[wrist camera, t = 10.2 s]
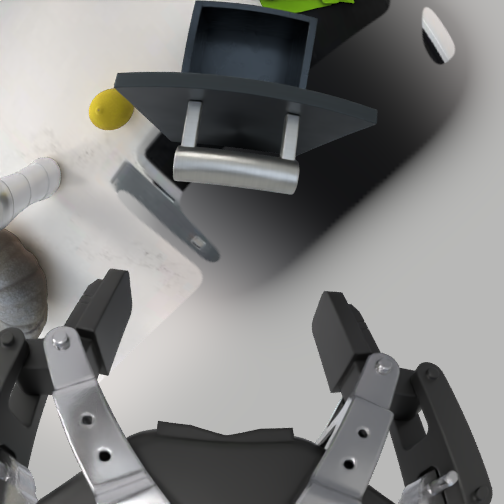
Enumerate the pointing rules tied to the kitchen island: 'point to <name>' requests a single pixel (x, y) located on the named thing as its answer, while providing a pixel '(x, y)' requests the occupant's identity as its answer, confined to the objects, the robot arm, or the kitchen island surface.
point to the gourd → (21, 288)
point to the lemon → (110, 110)
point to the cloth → (299, 4)
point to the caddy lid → (240, 125)
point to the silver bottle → (27, 188)
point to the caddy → (250, 43)
